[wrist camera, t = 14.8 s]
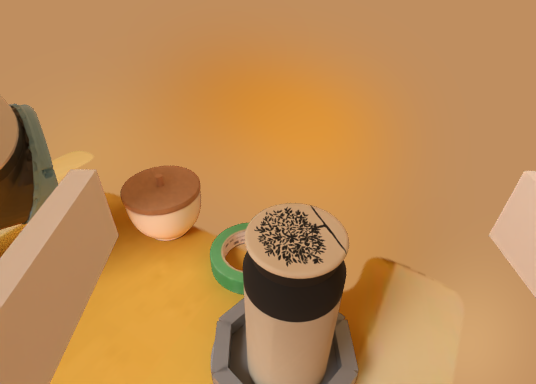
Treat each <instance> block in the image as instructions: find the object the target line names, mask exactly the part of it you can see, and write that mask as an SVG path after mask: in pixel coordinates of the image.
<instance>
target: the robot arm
mask: <svg viewBox="0 0 536 384" xmlns="http://www.w3.org/2000/svg"><path fill="white" fill-rule="evenodd" d="M27 223H28V224H27ZM18 224H27V225H26V226H25V227H24V229H23V230H22V231H21V232H20V234H19V235H18V236H17V237H16V239H15V240H14V241H13V242H12V244H11V245H10V246H9V247H8V249H7V250H6V251H5V252H4V254H3V255H2V256H1V257H0V384H50V382H51V380H52V377H53V375H54V373H55V371H56V369H57V367H58V365H59V362H60V360H61V358H62V356H63V354H64V352H65V350H66V347H67V345H68V343H69V341H70V339H71V337H72V335H73V332H74V330H75V328H76V326H77V324H78V322H79V320H80V317H81V315H82V313H83V311H84V309H85V307H86V305H87V302H88V300H89V298H90V296H91V294H92V292H93V290H94V287H95V285H96V283H97V281H98V279H99V277H100V275H101V273H102V270H103V268H104V266H105V264H106V262H107V260H108V258H109V255H110V253H111V251H112V249H113V247H114V245H115V243H116V240H117V238H118V236H119V235H118V232H117V229H116V226H115V223H114V220H113V217H112V214H111V211H110V208H109V205H108V203H107V200H106V197H105V194H104V191H103V188H102V185H101V182H100V180H99V176H98V173H97V170H70V171H69V172H68V173H67V175H66V176H65V177H64V178H63V180H62V181H61V182H60V183H59V185H58V182H57V179H56V175H55V172H54V170H53V165H52V162H51V157H50V154H49V150H48V147H47V144H46V141H45V137H44V134H43V131H42V128H41V125H40V123H39V120H38V117H37V114H36V112H35V111H34V109H33V108H32V107H30V106H28V105H17V104H10V105H9V104H8V103H7V102H6V101H5V100H4V99H3V98H2V97H1V96H0V230H1V229H4V228H7V227H11V226H14V225H18ZM489 236H490V237H491V239H492V240H493V241H494V243H495V244H496V246H497V247H498V248H499V250H500V251H501V252H502V254H503V255H504V256H505V258H506V259H507V260H508V262H509V263H510V264H511V266H512V267H513V268H514V270H515V271H516V272H517V274H518V275H519V276H520V278H521V279H522V280H523V282H524V283H525V284H526V286H527V287H528V288H529V290H530V291H531V292H532V294H533V295H534V296H535V298H536V171H524V173H523V175H522V176H521V178H520V180H519V182H518V184H517V185H516V187H515V189H514V191H513V193H512V195H511V196H510V198H509V200H508V202H507V203H506V205H505V207H504V209H503V211H502V213H501V214H500V216H499V218H498V220H497V222H496V223H495V225H494V227H493V229H492V231H491V232H490V234H489Z"/></svg>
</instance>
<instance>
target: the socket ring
mask: <svg viewBox="0 0 536 384" xmlns="http://www.w3.org/2000/svg"><path fill="white" fill-rule="evenodd" d="M211 373H212V379H213V383H214V384H254V382H253V381H252V379H251V376H250V374H249V370H248V360H247V340H246V321H245V302H244V298H243V299H242V300H241V301H239V302H238V303H237V304H236V305H235V306H233V307H232V308H231V309H230V310H228V311H227V312H226V313H225V314H224V315H222V316H221V317H220V318H219V321H217V328H216V336H215V342H214V345H213V349H212V355H211ZM357 373H358V366H357V361H356V357H355V352H354V348H353V343H352V339H351V334H350V330H349V325H348V321H347V320H345V316H343V315H342V314H341V313H339V312H338V316H337V321H336V326H335V330H334V335H333V339H332V344H331V349H330V353H329V358H328V362H327V367H326V372H325V376H324V379H323V381H322V383H321V384H355V381H356V378H357V375H358V374H357Z"/></svg>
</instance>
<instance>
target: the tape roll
mask: <svg viewBox="0 0 536 384" xmlns="http://www.w3.org/2000/svg"><path fill="white" fill-rule="evenodd" d="M248 224H249V223H242V224H238V225H235V226H232V227H230V228H228V229H226V230H224V231H223V232H222V233H221V234H219V235H218V236H217V237H216V239H215V240H214V242H213V244H212V246H211V249H210V258H211V267H212V272H213V275H214V277H215V278H216V280H217V281H218V282H219V283H220V284H221V285H222V286H223V287H224V288H226V289H228V290H230V291H232V292H235V293H238V294H243V295H244V283H243V271H241V270H238V269H235V268H234V267H232V266H231V265H229V263H228V262H227V261H226V260H225V257H226V255H227V253H228V252H229V251H230V250H231V249H232V248H233V247H235V246H239V245H242V244H245V231H246V228H247V226H248Z"/></svg>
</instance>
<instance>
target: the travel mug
mask: <svg viewBox="0 0 536 384" xmlns="http://www.w3.org/2000/svg"><path fill="white" fill-rule="evenodd" d="M245 245H246V248H247V253H246V255H245V257H244V261H243V283H244V302H245V321H246V340H247V360H248V370H249V374H250V376H251V379H252V381H253V382H254V384H321V383H322V381H323V379H324V376H325V372H326V367H327V362H328V358H329V353H330V349H331V344H332V339H333V335H334V330H335V326H336V321H337V316H338V312H339V307H340V302H341V298H342V293H343V289H344V284H345V279H346V266H345V263H344V258H345V257H346V255H347V252H348V248H349V239H348V235H347V232H346V230H345V228H344V226H343V225H342V224H341V222H340V221H338V219H337V218H335V217H334V216H333V215H331V214H330V213H328V212H327V211H325V210H323V209H320V208H318V207H315V206H311V205H307V204H299V203H286V204H280V205H276V206H272V207H269V208H267V209H265V210H263V211H261V212H260V213H258V214H257V215H256V216H255V217H254V218H253V219H252V220H251V221H250V222H249V224H248V226H247V228H246V231H245Z"/></svg>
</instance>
